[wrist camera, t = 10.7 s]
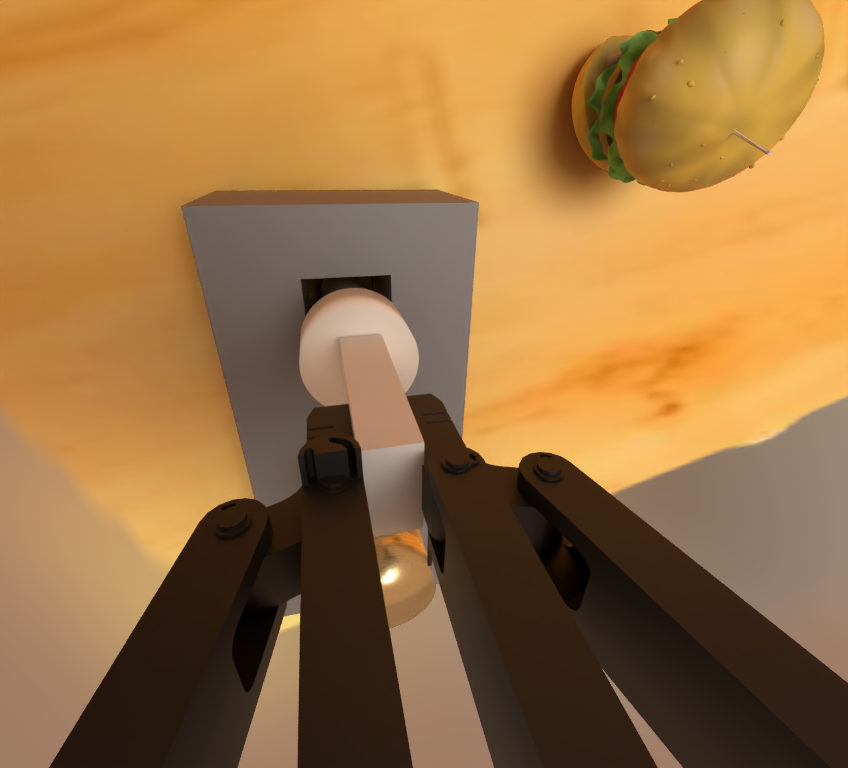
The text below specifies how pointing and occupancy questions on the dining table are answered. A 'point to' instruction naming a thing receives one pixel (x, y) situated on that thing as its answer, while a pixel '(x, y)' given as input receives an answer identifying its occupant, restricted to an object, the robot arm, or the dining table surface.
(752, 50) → the hamburger
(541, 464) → the robot arm
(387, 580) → the amber round-headed peg
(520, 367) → the dining table surface
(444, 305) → the mount block
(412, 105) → the dining table surface
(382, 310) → the knob
